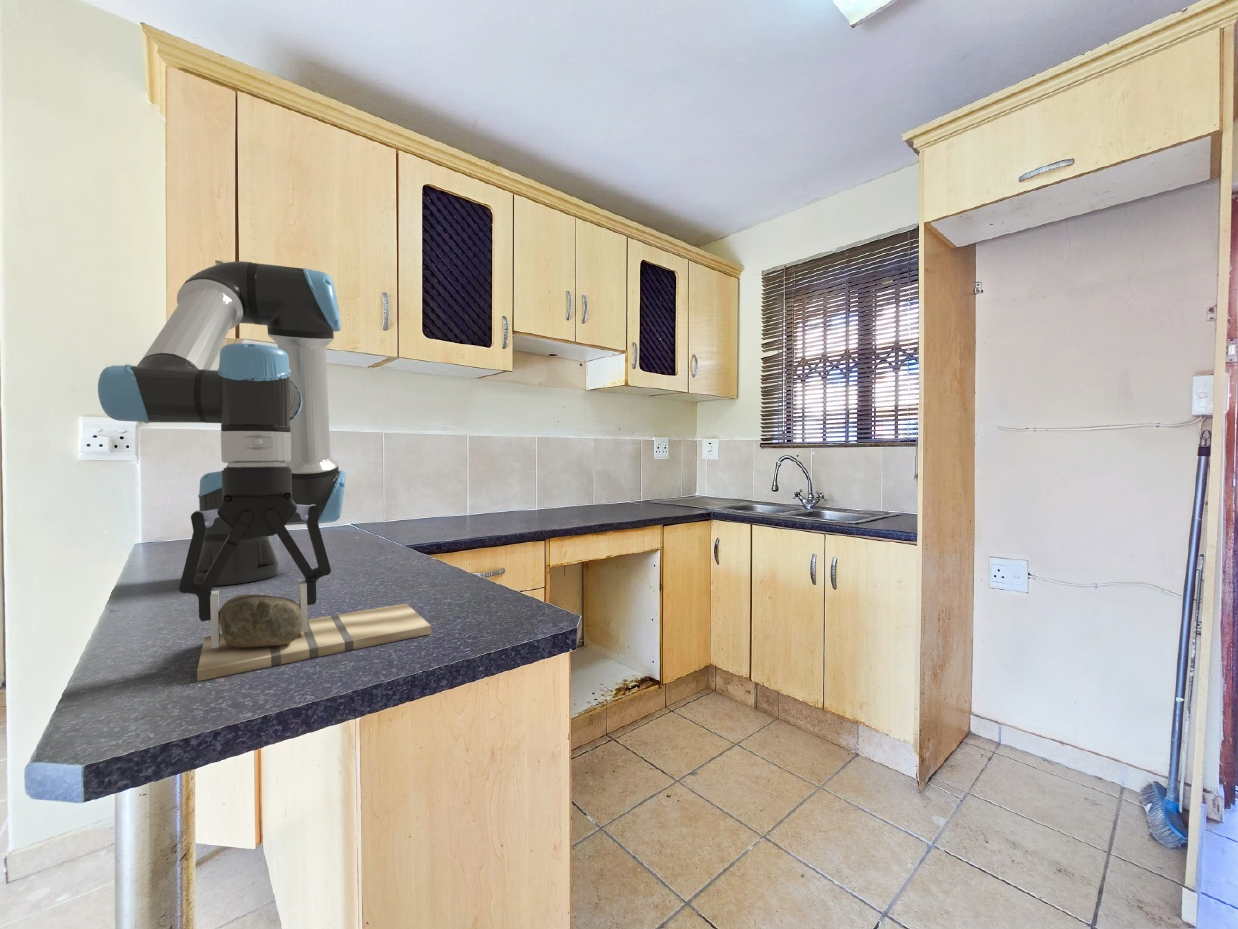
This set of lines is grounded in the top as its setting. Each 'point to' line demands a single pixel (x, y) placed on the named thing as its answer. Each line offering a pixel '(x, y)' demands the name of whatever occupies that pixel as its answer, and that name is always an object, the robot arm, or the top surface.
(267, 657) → the board
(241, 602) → the stone
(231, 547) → the robot arm
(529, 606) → the top surface
